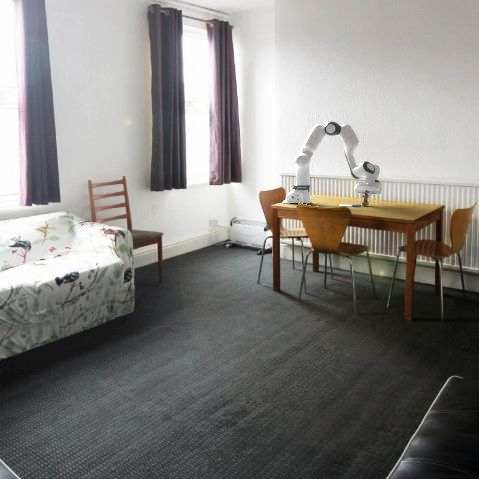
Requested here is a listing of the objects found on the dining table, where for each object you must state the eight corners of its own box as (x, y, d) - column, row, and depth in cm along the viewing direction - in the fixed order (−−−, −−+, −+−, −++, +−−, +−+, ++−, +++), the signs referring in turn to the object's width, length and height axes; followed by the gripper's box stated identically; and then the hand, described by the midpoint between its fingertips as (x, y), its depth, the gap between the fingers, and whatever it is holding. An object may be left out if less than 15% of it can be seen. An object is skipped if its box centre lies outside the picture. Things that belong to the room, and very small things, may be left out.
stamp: (362, 205, 431) (362, 190, 429) (362, 204, 435) (363, 189, 433) (368, 205, 430) (368, 190, 428) (368, 204, 434) (369, 189, 432)
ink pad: (351, 206, 430) (351, 205, 429) (352, 205, 437) (352, 203, 437) (359, 206, 428) (359, 205, 428) (360, 205, 436) (360, 203, 435)
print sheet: (338, 206, 433) (338, 205, 433) (340, 204, 441) (340, 204, 441) (351, 206, 430) (351, 206, 430) (352, 204, 439) (352, 204, 439)
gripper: (356, 179, 440) (351, 193, 434) (382, 181, 430) (377, 195, 423) (358, 185, 445) (353, 199, 438) (384, 186, 434) (379, 200, 428)
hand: (365, 197), depth 431 cm, fingers closed on stamp, 3 cm apart
